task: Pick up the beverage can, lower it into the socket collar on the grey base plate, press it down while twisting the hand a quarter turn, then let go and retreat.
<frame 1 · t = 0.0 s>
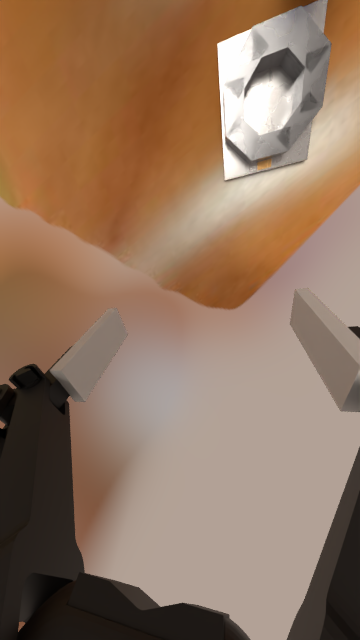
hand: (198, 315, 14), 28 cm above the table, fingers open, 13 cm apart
socket: (264, 109, 26), on the table
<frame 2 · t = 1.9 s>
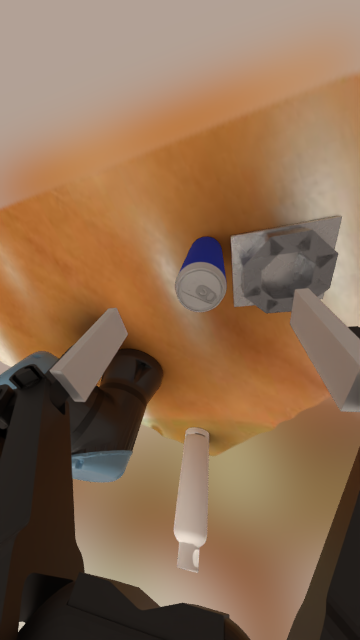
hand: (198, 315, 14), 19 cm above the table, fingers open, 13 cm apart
bottle: (197, 433, 63), on the table
beverage can: (205, 252, 30), on the table
socket: (277, 267, 30), on the table
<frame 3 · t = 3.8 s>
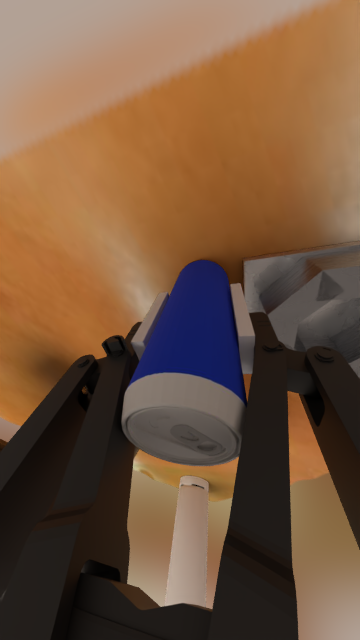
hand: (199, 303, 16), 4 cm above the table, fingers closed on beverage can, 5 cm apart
bottle: (194, 480, 52), on the table
beverage can: (202, 282, 19), on the table, touching gripper
socket: (316, 307, 19), on the table
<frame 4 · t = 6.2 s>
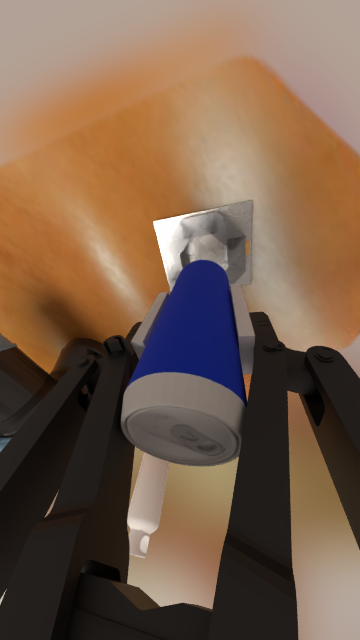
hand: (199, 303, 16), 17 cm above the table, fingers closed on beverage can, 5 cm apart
bottle: (163, 424, 64), on the table
beverage can: (202, 282, 19), point 13 cm above the table, touching gripper
socket: (205, 253, 30), on the table
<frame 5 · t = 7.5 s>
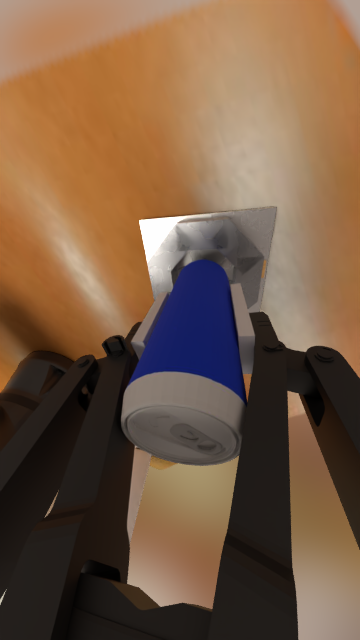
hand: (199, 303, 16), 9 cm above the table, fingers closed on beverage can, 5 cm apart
bottle: (140, 446, 57), on the table
beverage can: (202, 282, 19), point 5 cm above the table, touching gripper
socket: (205, 268, 23), on the table
when the fingers open (6 cm above the table, at t = 8.5 s): beverage can stays where it is, resting on socket.
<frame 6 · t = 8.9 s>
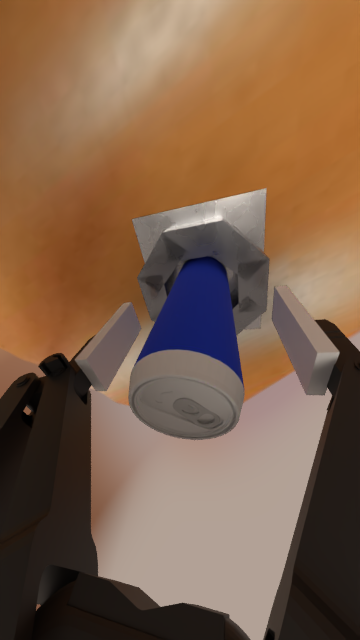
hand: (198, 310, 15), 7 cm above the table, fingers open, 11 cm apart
beverage can: (203, 278, 20), point 1 cm above the table, touching socket
socket: (203, 276, 21), on the table
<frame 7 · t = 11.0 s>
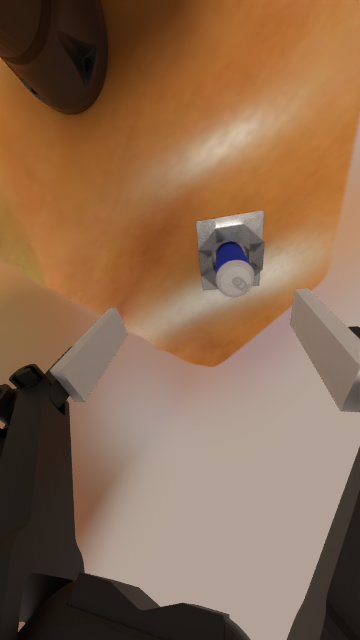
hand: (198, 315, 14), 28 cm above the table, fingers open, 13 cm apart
beverage can: (229, 254, 37), point 1 cm above the table, touching socket
socket: (229, 254, 38), on the table
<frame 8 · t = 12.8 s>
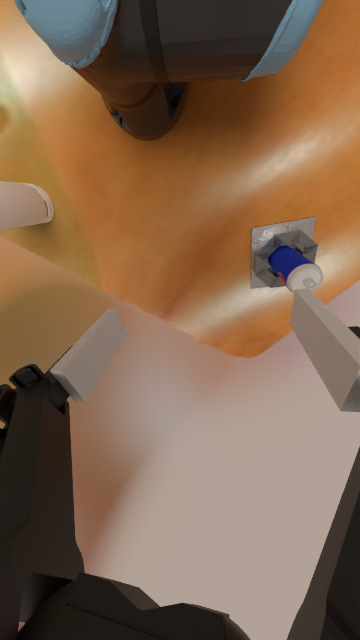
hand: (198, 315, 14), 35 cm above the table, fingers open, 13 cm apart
bottle: (38, 204, 45), on the table
beverage can: (279, 256, 42), point 1 cm above the table, touching socket
socket: (278, 255, 42), on the table
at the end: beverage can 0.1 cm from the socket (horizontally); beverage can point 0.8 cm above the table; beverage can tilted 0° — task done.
